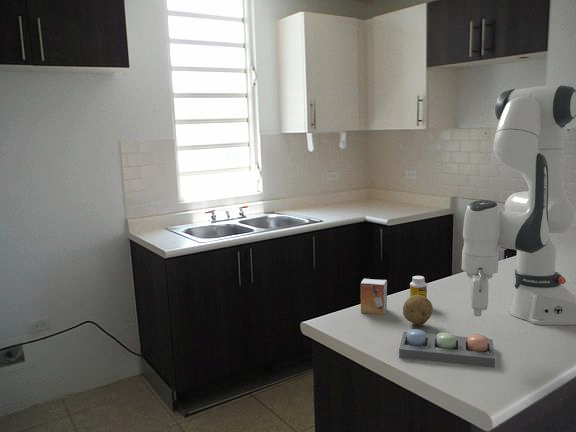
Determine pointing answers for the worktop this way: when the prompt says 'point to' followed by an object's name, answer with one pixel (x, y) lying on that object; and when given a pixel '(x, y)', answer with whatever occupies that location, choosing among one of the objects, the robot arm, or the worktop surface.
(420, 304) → the natural sponge
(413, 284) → the supplement bottle
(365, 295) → the small box
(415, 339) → the slate blue button
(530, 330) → the worktop surface
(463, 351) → the button panel
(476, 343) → the terracotta button
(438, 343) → the sage button
